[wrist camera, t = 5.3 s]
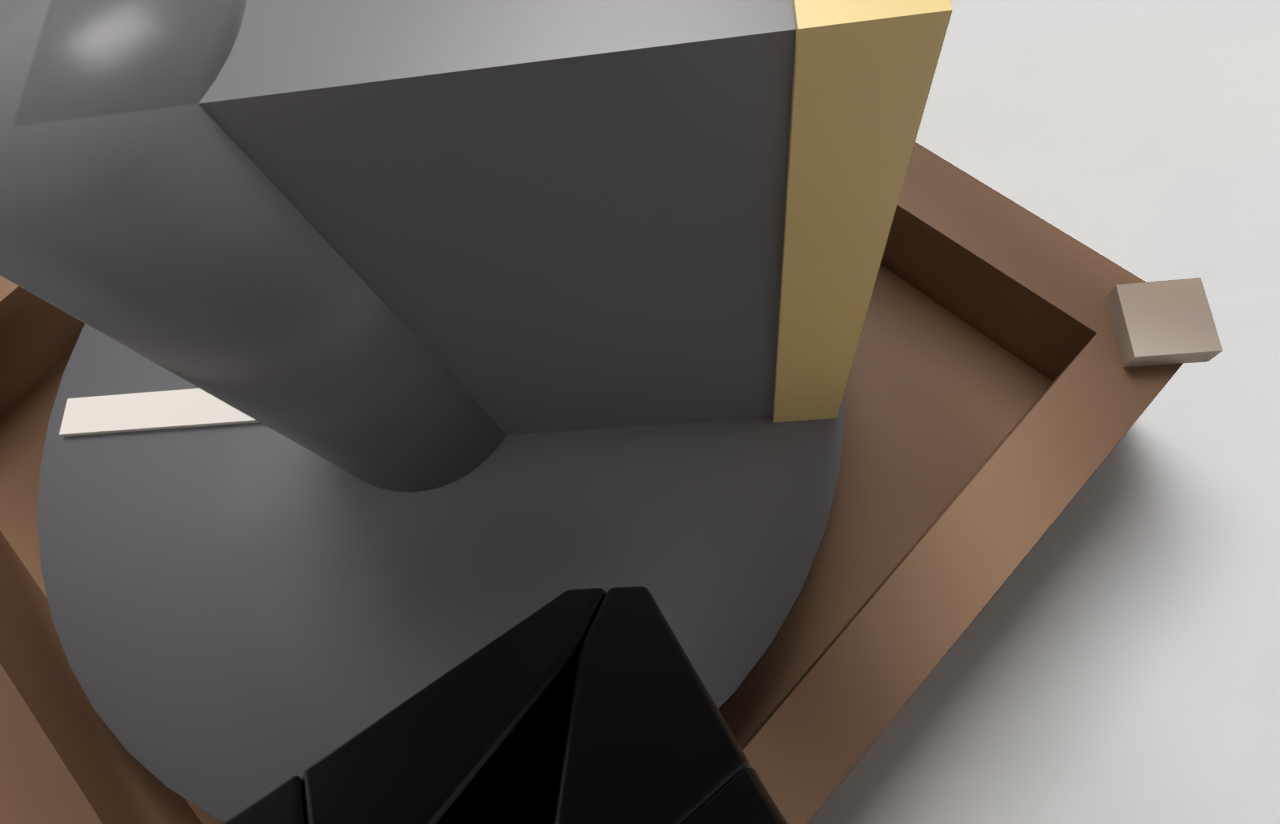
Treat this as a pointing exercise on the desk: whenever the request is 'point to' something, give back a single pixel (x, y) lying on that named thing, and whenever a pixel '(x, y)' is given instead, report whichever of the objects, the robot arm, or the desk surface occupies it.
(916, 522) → the dial base
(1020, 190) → the desk surface
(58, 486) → the knob
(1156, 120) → the desk surface
